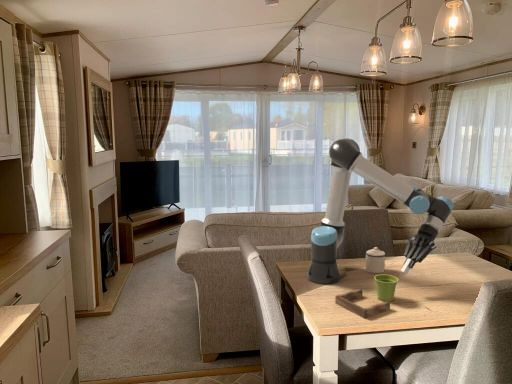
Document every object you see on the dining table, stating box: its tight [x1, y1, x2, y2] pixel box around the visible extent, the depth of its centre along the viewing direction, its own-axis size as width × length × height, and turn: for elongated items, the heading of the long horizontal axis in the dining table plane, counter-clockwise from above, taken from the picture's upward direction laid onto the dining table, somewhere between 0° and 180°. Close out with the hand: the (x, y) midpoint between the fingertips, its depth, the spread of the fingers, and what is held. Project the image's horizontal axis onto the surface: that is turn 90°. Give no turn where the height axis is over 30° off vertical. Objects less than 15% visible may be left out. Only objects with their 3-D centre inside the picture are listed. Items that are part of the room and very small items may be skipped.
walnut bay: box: [334, 288, 391, 319], centre depth 155 cm, size 14×15×3 cm
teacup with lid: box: [365, 246, 386, 274], centre depth 195 cm, size 12×9×12 cm
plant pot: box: [373, 273, 399, 302], centre depth 162 cm, size 9×9×9 cm
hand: (403, 273), depth 165 cm, fingers closed
